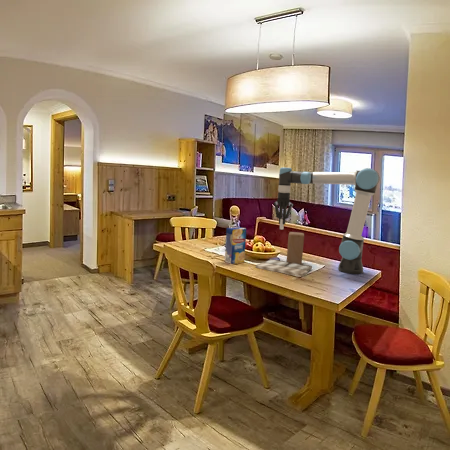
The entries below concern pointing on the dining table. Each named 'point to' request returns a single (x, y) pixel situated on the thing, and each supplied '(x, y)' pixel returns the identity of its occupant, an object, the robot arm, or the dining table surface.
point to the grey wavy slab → (300, 266)
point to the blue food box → (235, 245)
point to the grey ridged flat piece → (278, 262)
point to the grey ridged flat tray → (281, 269)
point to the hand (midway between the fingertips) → (281, 229)
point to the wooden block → (295, 247)
